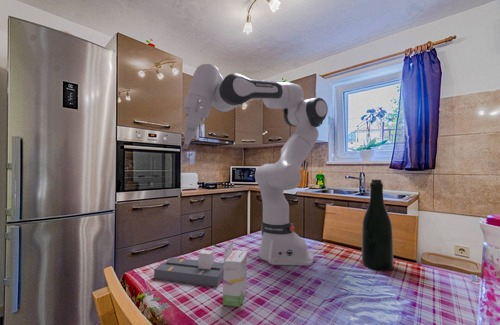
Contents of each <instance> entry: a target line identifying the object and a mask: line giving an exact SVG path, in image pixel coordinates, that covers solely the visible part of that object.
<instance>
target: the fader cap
mask: <svg viewBox="0 0 500 325" xmlns="http://www.w3.org/2000/svg"><path fill="white" fill-rule="evenodd" d="M198 260H199V265H198V268H200V269H208V270H210V269H211V268H212V267H213V262H214V250H209V249H208V250H207V249H202V250H200V251H199V252H198Z"/></svg>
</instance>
